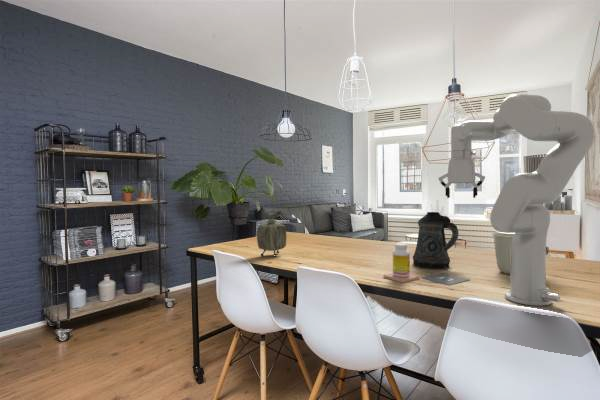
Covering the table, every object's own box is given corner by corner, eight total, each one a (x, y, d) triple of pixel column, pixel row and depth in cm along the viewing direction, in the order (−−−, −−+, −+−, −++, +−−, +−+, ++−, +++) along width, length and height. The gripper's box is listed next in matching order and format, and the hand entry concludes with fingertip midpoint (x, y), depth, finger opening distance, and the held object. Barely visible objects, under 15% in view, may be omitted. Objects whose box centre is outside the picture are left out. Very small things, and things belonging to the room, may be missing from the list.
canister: (492, 266, 160) (492, 220, 159) (540, 270, 151) (540, 222, 150) (490, 275, 144) (490, 224, 144) (544, 280, 135) (544, 226, 134)
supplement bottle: (410, 278, 139) (410, 245, 138) (393, 277, 140) (392, 245, 140) (409, 273, 145) (409, 243, 145) (392, 273, 147) (392, 242, 146)
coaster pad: (419, 278, 141) (419, 276, 141) (402, 282, 136) (402, 280, 136) (400, 273, 150) (400, 271, 149) (383, 277, 144) (383, 274, 144)
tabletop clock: (278, 253, 202) (277, 209, 201) (288, 255, 195) (287, 210, 194) (257, 256, 193) (256, 211, 192) (266, 259, 186) (265, 211, 185)
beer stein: (412, 260, 175) (411, 211, 174) (454, 262, 170) (454, 211, 169) (413, 268, 159) (413, 213, 158) (459, 270, 154) (459, 213, 153)
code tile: (470, 280, 138) (470, 279, 138) (449, 285, 131) (449, 284, 131) (441, 273, 149) (441, 272, 149) (421, 277, 142) (421, 277, 142)
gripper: (485, 155, 141) (485, 197, 142) (439, 157, 150) (439, 197, 150) (485, 153, 135) (485, 198, 135) (437, 156, 143) (437, 198, 144)
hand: (461, 197), depth 143 cm, fingers open, 9 cm apart
